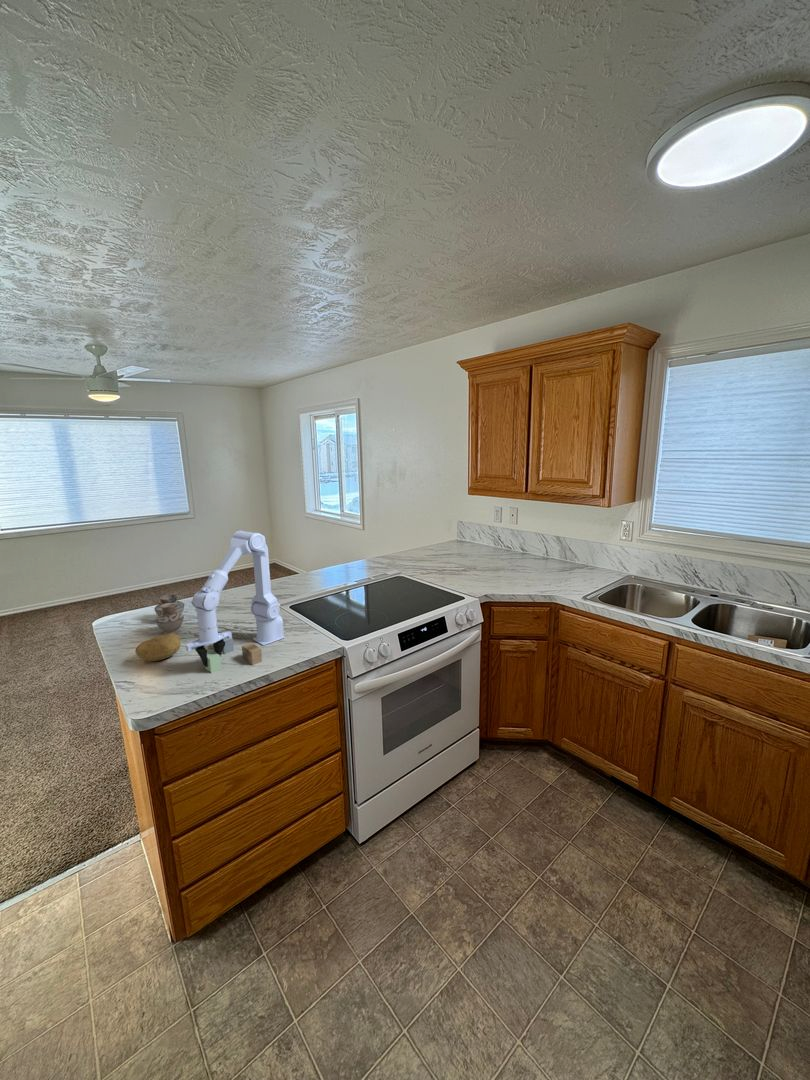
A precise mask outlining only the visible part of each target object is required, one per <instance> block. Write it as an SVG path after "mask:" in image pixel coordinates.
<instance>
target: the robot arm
mask: <svg viewBox="0 0 810 1080" xmlns="http://www.w3.org/2000/svg"><path fill="white" fill-rule="evenodd" d="M229 543H230V545H229V546H230V547H229V548H228V550H227V552H226V554H225V555H224V558H223V559H222V560H221V563H220V565H219V567H218V569H215V570H213V571H212V572H211V573H209V574H208V578H207V579H206V581H205V582H204V584H203V586H202V587H201V588H200V590H198V591H197V592H196V593H194V595H193V596H192V600H191V606H192V607H194V608H195V612H196V618H197V625H198V626H197V627H198V637H199V638H197V639H195V640H193V641H191V642H189V643H186V644H185V651H186V652H191V651H193V650H195V652H196V653H197V654H198V655H199V658H200V660H201V663H203V665H204V666H205V667H208V662H207V650H208V649H207V648H206V647H205V646H208V645H212V647H213V651H215V652H216V653H217V654H219V655H220V657H222V654H223V652H222V651H223V648H224V646H225V641H224V639H227V638H229V639H230V638H233V635H232V632H231V631H230V630H228V631H224V632H223V631H222V632H220V633H219V632H218V631H219V628H218V621H217V620H218V619H217V609H216V608H217V606H218V605H219V603H220V597H221V593H222V591H223V589H224V588H225V586H226V584H227V583H228V581H229V576H228V574H229V573H230V571H231V570H233V567H234V566H235V564H236V563H238V560H239V558H241V557H242V556H244V555H248V554H251V555H252V561H253V562H252V563H253V574H254V586H255V595H254V596H253V597H252V598H251V606H250V612H251V614H252V615H254V619H255V623H256V625H255V626H256V636H255V637H253V638H252V639H253V640H254V641H255V642H257V643H258V644H260V645H262V646H265V645H269V644H271V643H274V642H277V641H281V640H282V639H285V638H286V636H285V635H284V633H285V632H284V620H283V617H282V615H280V611H281V609H280V604H279V603H278V598H277V597H276V596H275V595H274V594H273V593H272V586H271V585H272V583H271V572H270V559H269V548H268V545H267V543H266V537H265V535H263V534H261V533H259V532H252V531H245V530H237V531H235V532H234V534H233V535H232V538H231V539H230V541H229ZM205 667H204V668H205Z"/></svg>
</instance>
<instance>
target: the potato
mask: <svg viewBox="0 0 810 1080" xmlns="http://www.w3.org/2000/svg"><path fill="white" fill-rule="evenodd" d="M180 648H181V637H180V636H179V635H178V634H174V633H172V634H166V635H164V634H163V635H156V636H154V637H151V638H150V639H146V640H144V641H141V642H140V643H139V644H138V645H137V646H136V647H135V654H136V655H137V656H138V658H140V659H142V660H144V661H146V662H155V661H162V660H164V659H167V658H169V657H172V656H173V655H175V654H177V652H178V651H179V650H180Z"/></svg>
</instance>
